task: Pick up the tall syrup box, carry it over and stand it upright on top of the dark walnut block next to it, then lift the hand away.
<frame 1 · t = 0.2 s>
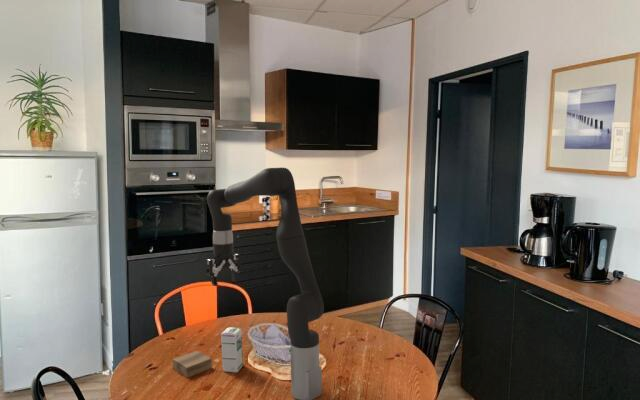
hand: (224, 283, 181), 28 cm above the table, tool pointing down, fingers open, 8 cm apart
walnut base block: (192, 369, 173), on the table
syrup box: (232, 369, 173), on the table
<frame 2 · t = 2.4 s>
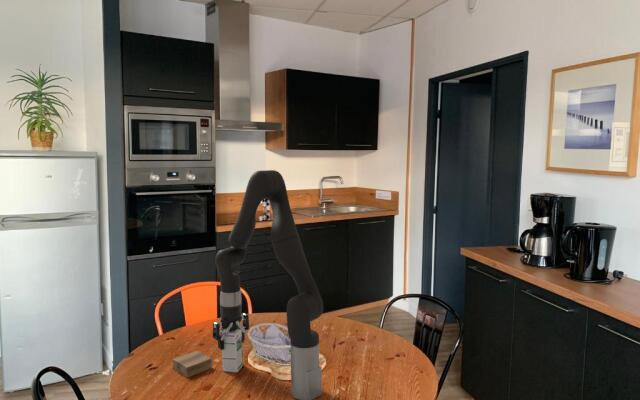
hand: (231, 345, 172), 9 cm above the table, tool pointing down, fingers open, 8 cm apart
nothing on the table moved.
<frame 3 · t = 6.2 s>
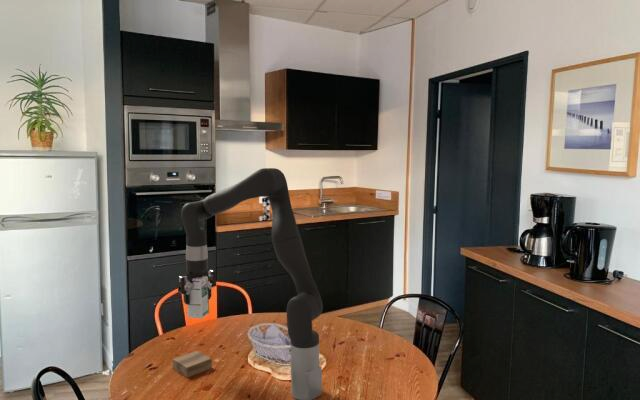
hand: (197, 301, 171), 25 cm above the table, tool pointing down, fingers closed on syrup box, 8 cm apart
syrup box: (198, 316, 171), point 20 cm above the table, touching gripper
everything else where it was.
when the fingers open (10 cm above the table, at t = 9.2 s): syrup box drops 1 cm, resting on walnut base block.
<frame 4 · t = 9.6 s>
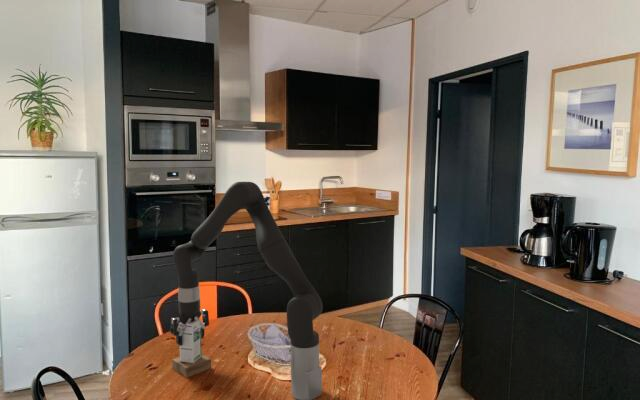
hand: (190, 341, 172), 10 cm above the table, tool pointing down, fingers open, 8 cm apart
walnut base block: (191, 369, 173), on the table, touching syrup box
syrup box: (190, 359, 172), point 3 cm above the table, touching gripper, walnut base block
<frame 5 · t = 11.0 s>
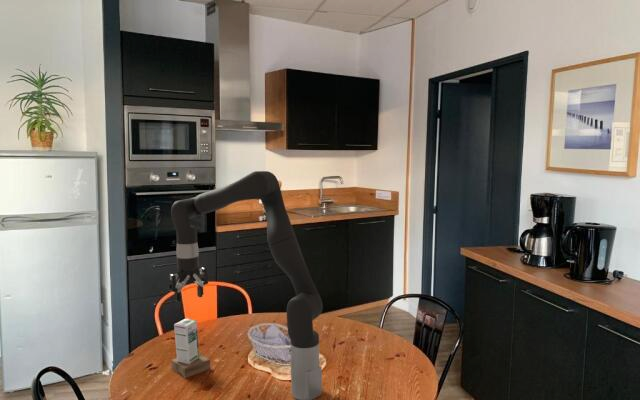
hand: (189, 299, 170), 26 cm above the table, tool pointing down, fingers open, 8 cm apart
syrup box: (188, 360, 172), point 3 cm above the table, touching walnut base block
everything else where it was.
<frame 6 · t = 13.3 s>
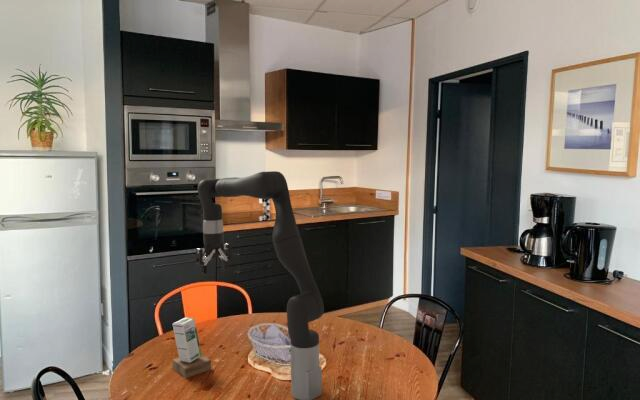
hand: (214, 272, 183), 32 cm above the table, tool pointing down, fingers open, 8 cm apart
syrup box: (190, 359, 172), point 4 cm above the table, touching walnut base block
everything else where it was.
at the end: syrup box 0.3 cm off-centre on the walnut base block, point 4.3 cm above the walnut base block's base; syrup box tilted 8°; the gripper is holding nothing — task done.
